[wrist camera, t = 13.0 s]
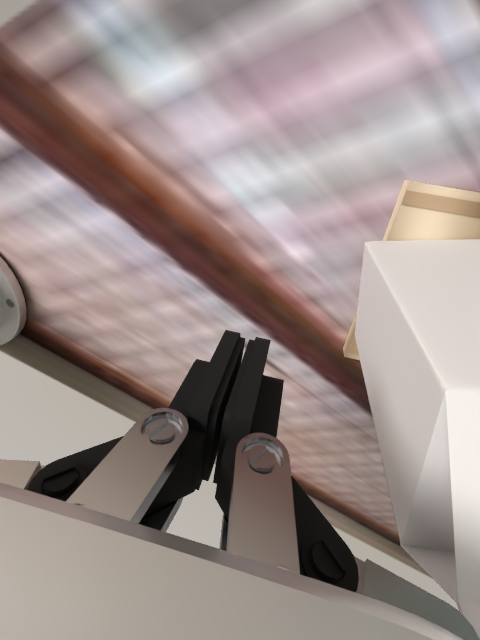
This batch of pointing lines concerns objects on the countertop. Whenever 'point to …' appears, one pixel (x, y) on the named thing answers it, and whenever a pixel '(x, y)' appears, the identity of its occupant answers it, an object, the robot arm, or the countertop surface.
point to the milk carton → (427, 400)
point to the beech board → (428, 223)
